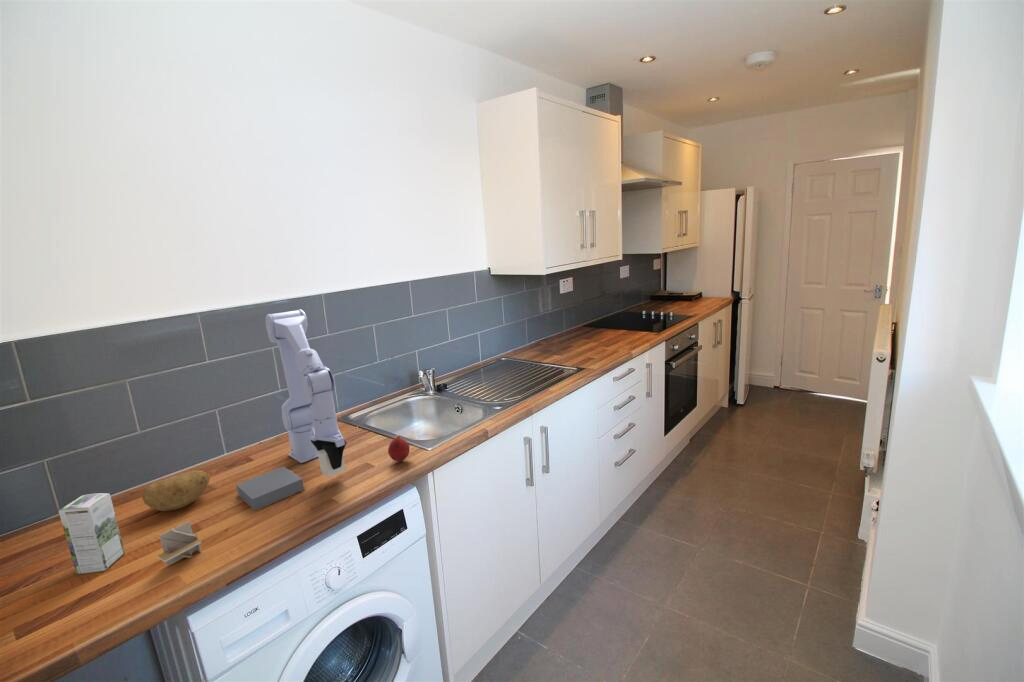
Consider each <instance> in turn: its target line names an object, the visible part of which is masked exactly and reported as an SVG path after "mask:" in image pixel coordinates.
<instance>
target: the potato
mask: <svg viewBox="0 0 1024 682" xmlns="http://www.w3.org/2000/svg"><path fill="white" fill-rule="evenodd" d="M210 480H211V477H210V475H209V474H208V473H207V472H206V471H203V470H191V471H188V472H185V473H181V474H177V475H173V476H169V477H167V478H164V479H162V480H158V481H156V482H155V481H154V482H153V483H151V484H149V485H147V486H146V488H145V489H144V491H143V492H142V500H143V503H144V504H145V505H146V506H148V507H149V509H153V510H156V511H161V512H168V511H174V510H175V511H176V510H179V509H182V508H185V507H187V506H188V505H190V504H192V503H193V502H194V501H195V500H197V499H198V498H199V497H200V496H201V495H202V494H203V493H204V492H205V491H206V489H207V487H208V485H209V483H210Z"/></svg>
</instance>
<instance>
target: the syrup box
mask: <svg viewBox="0 0 1024 682" xmlns="http://www.w3.org/2000/svg"><path fill="white" fill-rule="evenodd" d="M58 513H59V517H60V522H61V524H62V528H63V532H64V535H65V539H66V543H67V545H68V549H69V553H70V555H71V556H70V557H71V560H72V563H73V566H74V570H75V573H76V575H83V574H90V573H98V572H105V571H107V570H108V569H109V568H110V567H111V566H113V565H114V564H115V563H116V562H117V561H118V560H119V559H120V558H122V557H123V555H125V548H124V545H123V540H122V536H121V533H120V532H121V531H120V528H119V525H118V522H117V521H118V520H117V517H116V513H115V510H114V504H113V501H112V498H111V494H110V493H107V492H105V493H103V492H100V493H90V494H89V493H87V494H83V495H81V496H79V497H77V498H76V499H75V500H73V501H71V502H70V503H68V504H67V505H65V506H64V507H62V508H60V509H59V510H58Z"/></svg>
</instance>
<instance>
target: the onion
mask: <svg viewBox="0 0 1024 682" xmlns="http://www.w3.org/2000/svg"><path fill="white" fill-rule="evenodd" d="M387 451H388V452H387V453H388V456H389V457H390V458H391V460H393V461H394V462H397V463H403V461H404V460H405V459H406V458H407V457H408V456H409V455H410V445H409V443H408V442H407V441H406V440H405V439H403V438H401V436H400V435H399V434H397V435H395V438H394V439H393V440H392V441H391V442H389V445H388V448H387Z"/></svg>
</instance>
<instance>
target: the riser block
mask: <svg viewBox="0 0 1024 682" xmlns="http://www.w3.org/2000/svg"><path fill="white" fill-rule="evenodd" d="M235 486H236V490H237V493H238V494H237V495H238V496H239V497H240V498H241V499H242V500H243V501H244V502H246V504H247V505H248V506H249V507H250V508H252V509H253V510H254V511H257V510H260V509H262V508H264V507H267V506H268V505H271V504H274V503H276V502H278V501H281V500H283V499H285V498H287V497H290V496H292V495H295V494H297V493H299V492H302V491H304V490H305V486H304V481H303V478H302V477H300V476H299V475H298V474H296V473H294V472H293V471H292V470H290V469H288V468H287V467H286V466H285V465H284V466H281V467H279V468H275V469H273V470H271V471H268V472H265V473H262V474H260V475H258V476H255V477H252V478H250V479H246V480H244V481H241V482H239V483H237V484H236V485H235Z"/></svg>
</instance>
